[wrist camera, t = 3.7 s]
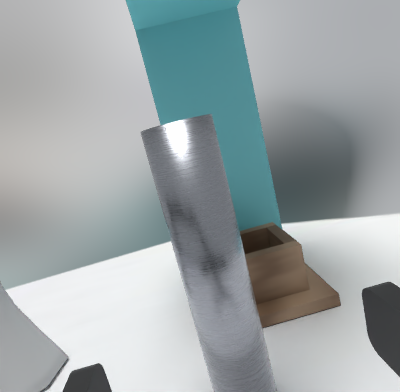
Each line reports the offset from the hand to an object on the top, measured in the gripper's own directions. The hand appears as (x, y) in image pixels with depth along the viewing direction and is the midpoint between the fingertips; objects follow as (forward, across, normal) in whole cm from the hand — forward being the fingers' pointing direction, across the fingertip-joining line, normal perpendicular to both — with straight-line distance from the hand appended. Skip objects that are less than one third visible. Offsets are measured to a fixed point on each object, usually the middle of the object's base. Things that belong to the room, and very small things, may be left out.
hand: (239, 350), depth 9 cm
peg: (+7, 0, +9) cm, 11 cm away
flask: (+14, +17, +9) cm, 24 cm away
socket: (+18, -4, +9) cm, 20 cm away
